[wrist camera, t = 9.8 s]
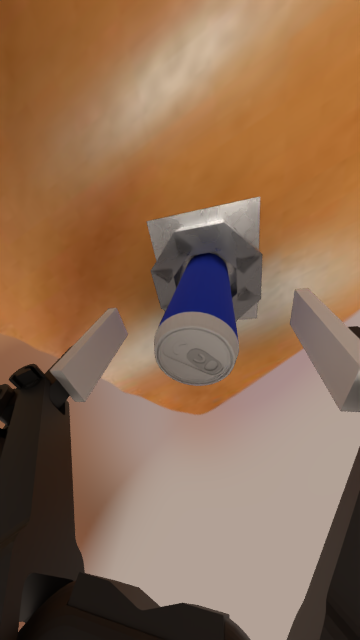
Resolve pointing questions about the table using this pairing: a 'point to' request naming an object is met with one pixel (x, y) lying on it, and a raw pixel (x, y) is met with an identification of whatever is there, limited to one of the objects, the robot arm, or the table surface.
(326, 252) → the table surface
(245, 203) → the socket
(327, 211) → the table surface
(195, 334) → the beverage can
